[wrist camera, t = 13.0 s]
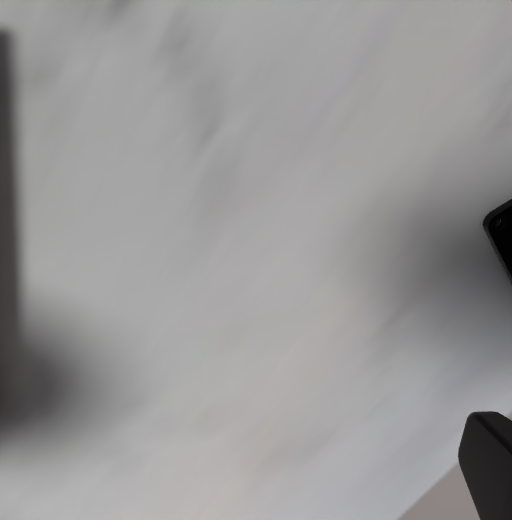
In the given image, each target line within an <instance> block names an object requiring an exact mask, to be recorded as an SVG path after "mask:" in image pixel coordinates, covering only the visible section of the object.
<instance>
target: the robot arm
mask: <svg viewBox="0 0 512 520" xmlns="http://www.w3.org/2000/svg"><path fill="white" fill-rule="evenodd" d="M500 219H501V223H500V225H499V226H498V227H496V228H494V224H495V222H496V221H497V220H500ZM483 228H484V230H485V232H486V234H487V236H488V238H489V240H490V242H491V244H492V246H493V248H494V250H495V252H496V254H497V256H498V258H499V260H500V262H501V264H502V266H503V268H504V270H505V272H506V274H507V276H508V278H509V280H510V282H511V284H512V199H511V200H509V201H507V202H506V203H504V204H503V205H501V206H499V207H498V208H496V209H495V210H493V211H491V212H490V213H489V214H488V215H486V217H485V219H484V220H483ZM458 458H459V464H460V467H461V470H462V472H463V475H464V478H465V481H466V483H467V486H468V488H469V491H470V494H471V496H472V499H473V502H474V504H475V507H476V509H477V512H478V515H479V517H480V520H512V421H511V420H510V419H508V418H507V417H505V416H503V415H502V414H500V413H498V412H493V411H488V412H473V413H471V414H470V415H469V416H468V418H467V421H466V424H465V428H464V432H463V435H462V439H461V443H460V446H459V451H458Z"/></svg>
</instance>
